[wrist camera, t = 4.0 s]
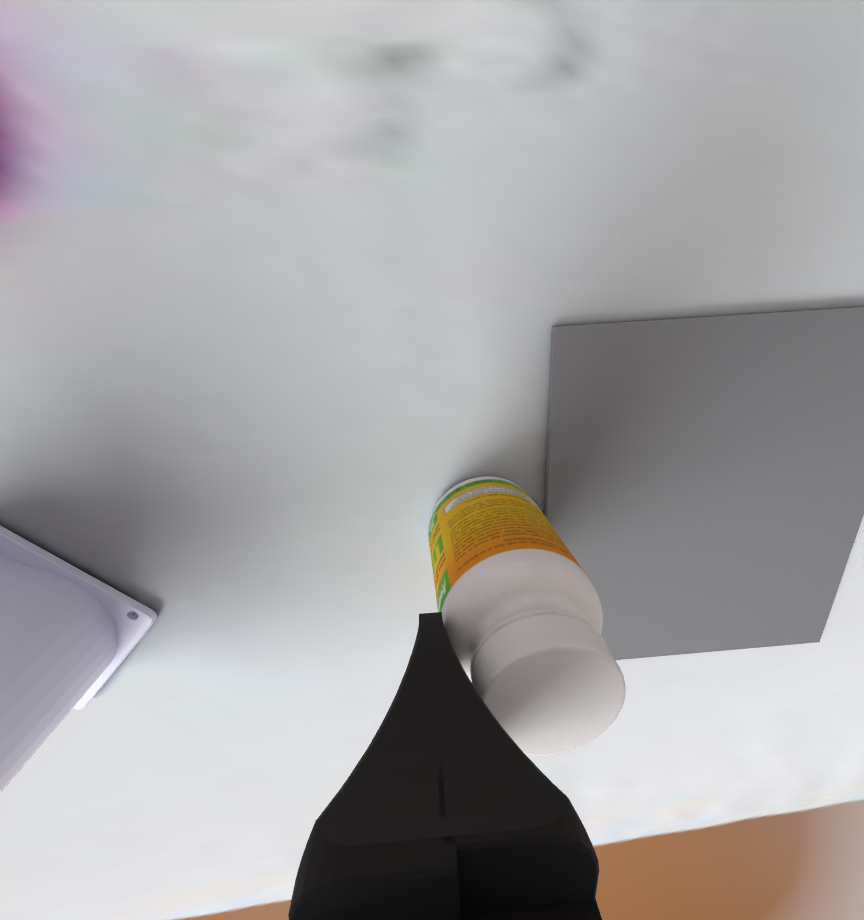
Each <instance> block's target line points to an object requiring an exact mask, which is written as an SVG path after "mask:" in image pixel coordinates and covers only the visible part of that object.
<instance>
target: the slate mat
mask: <svg viewBox="0 0 864 920" xmlns="http://www.w3.org/2000/svg"><path fill="white" fill-rule="evenodd" d="M863 514H864V306H863V307H847V308H832V309H816V310H800V311H785V312H769V313H754V314H738V315H722V316H707V317H691V318H676V319H660V320H645V321H629V322H613V323H598V324H582V325H567V326H552V339H551V363H550V387H549V411H548V436H547V460H546V484H545V508H544V515H545V517H546V518H547V520H548V521H549V523H550V524H551V525H552V527H553V528H554V530H555V531H556V533H557V534H558V535H559V537H560V538H561V540H562V541H563V542H564V544H565V545H566V547H567V548H568V549H569V551H570V552H571V554H572V555H573V556H574V558H575V559H576V560H577V562H578V563H579V565H580V566H581V567H582V569H583V570H584V572H585V573H586V575H587V576H588V578H589V579H590V581H591V583H592V584H593V586H594V588H595V590H596V592H597V594H598V596H599V599H600V602H601V607H602V613H603V625H602V632H601V636H602V638H603V639H604V641H605V643H606V645H607V647H608V649H609V651H610V652H611V654H612V656H613V657H614V659H615V660H621V659H633V658H644V657H655V656H667V655H678V654H689V653H701V652H712V651H723V650H735V649H746V648H757V647H769V646H780V645H791V644H803V643H814V642H820V639H821V636H822V633H823V630H824V627H825V624H826V621H827V619H828V616H829V613H830V610H831V607H832V604H833V601H834V598H835V595H836V592H837V590H838V587H839V584H840V581H841V578H842V575H843V572H844V569H845V566H846V564H847V561H848V558H849V555H850V552H851V549H852V546H853V543H854V540H855V538H856V535H857V532H858V529H859V526H860V523H861V520H862V517H863Z"/></svg>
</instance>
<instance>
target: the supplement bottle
mask: <svg viewBox="0 0 864 920" xmlns="http://www.w3.org/2000/svg"><path fill="white" fill-rule="evenodd" d="M428 536H429V546H430V552H431V560H432V567H433V574H434V582H435V590H436V598H437V606H438V612H442V618H443V623H444V627H445V630H446V632H447V635H448V637H449V640H450V642H451V645H452V647H453V649H454V651H455V653H456V655H457V657H458V659H459V661H460V663H461V665H462V667H463V669H464V670H465V672H466V674H467V676H468V677H469V679H470V681H471V683H472V684H473V686H474V688H475V689H476V691H477V692H478V694H479V695H480V697H481V698H482V700H483V701H484V703H485V704H486V706H487V707H488V709H489V710H490V711H491V713H492V714H493V716H494V717H495V718H496V720H497V721H498V722H499V724H500V725H501V726H502V727H503V729H504V730H505V731H506V732H507V734H508V735H509V736H510V737H511V738H512V739H513V741H514V742H515V743H516V744H517V745H518V747H519V748H520V749H521V750H522V751H523V753H524V754H527V755H551V754H557V753H563V752H566V751H570V750H572V749H575V748H578V747H580V746H582V745H584V744H586V743H588V742H590V741H591V740H593V739H595V738H596V737H597V736H599V735H600V734H601V733H603V732H604V731H605V730H606V729H607V728H608V727H609V726H610V725H611V724H612V723H613V721H614V720H615V719H616V717H617V716H618V714H619V712H620V710H621V708H622V705H623V702H624V699H625V682H624V677H623V674H622V672H621V670H620V668H619V666H618V664H617V662H616V661H615V659H614V657H613V656H612V654H611V652H610V651H609V649H608V647H607V645H606V643H605V641H604V639H603V638H602V636H601V632H602V625H603V613H602V607H601V602H600V599H599V596H598V594H597V592H596V590H595V588H594V586H593V584H592V583H591V581H590V579H589V578H588V576H587V575H586V573H585V572H584V570H583V569H582V567H581V566H580V565H579V563H578V562H577V560H576V559H575V558H574V556H573V555H572V554H571V552H570V551H569V549H568V548H567V547H566V545H565V544H564V542H563V541H562V540H561V538H560V537H559V535H558V534H557V533H556V531H555V530H554V528H553V527H552V525H551V524H550V523H549V521H548V520H547V518H546V517H545V515H544V514H543V513H542V511H541V510H540V508H539V507H538V506H537V504H536V503H535V501H534V500H533V499H532V498H531V496H530V495H529V494H528V493H527V492H526V491H525V490H524V489H523V488H521V487H520V486H519V485H517V484H515V483H514V482H512V481H509V480H507V479H504V478H500V477H493V476H484V477H476V478H472V479H468V480H466V481H463V482H461V483H459V484H457V485H455V486H454V487H452V488H451V489H450V490H448V491H447V492H446V493H445V494H444V495H443V496H442V497H441V498H440V499H439V501H438V502H437V503H436V505H435V507H434V509H433V511H432V513H431V516H430V520H429V527H428Z"/></svg>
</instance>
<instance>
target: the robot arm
mask: <svg viewBox="0 0 864 920" xmlns="http://www.w3.org/2000/svg"><path fill="white" fill-rule="evenodd" d="M134 612H136V613H137V614H135V613H134ZM156 620H157V614H156V613H155V612H154V611H153V610H152V609H150V608H148V607H147V606H145V605H143V604H141V603H139V602H137V601H136V600H134V599H132V598H130V597H128V596H127V595H125V594H123V593H121V592H119V591H118V590H116V589H114V588H112V587H110V586H109V585H107V584H105V583H103V582H101V581H100V580H98V579H96V578H94V577H92V576H90V575H89V574H87V573H85V572H83V571H81V570H80V569H78V568H76V567H74V566H72V565H71V564H69V563H67V562H65V561H63V560H62V559H60V558H58V557H56V556H54V555H53V554H51V553H49V552H47V551H45V550H44V549H42V548H40V547H38V546H36V545H34V544H33V543H31V542H29V541H27V540H25V539H24V538H22V537H20V536H18V535H16V534H15V533H13V532H11V531H9V530H7V529H6V528H4V527H2V526H0V793H1V792H2V791H3V789H4V788H5V787H6V786H7V785H8V784H9V782H10V781H11V780H12V779H13V778H14V776H15V775H16V774H17V773H18V772H19V771H20V769H21V768H22V767H23V766H24V765H25V764H26V762H27V761H28V760H29V759H30V758H31V756H32V755H33V754H34V753H35V752H36V751H37V749H38V748H39V747H40V746H41V745H42V744H43V742H44V741H45V740H46V739H47V738H48V736H49V735H50V734H51V733H52V732H53V731H54V729H55V728H56V727H57V726H58V725H59V724H60V722H61V721H62V720H63V719H64V718H65V716H66V715H67V714H68V713H69V712H70V711H71V709H76V710H79V709H83V708H85V707H86V706H87V704H88V703H89V702H90V701H91V700H92V698H93V697H94V696H95V695H96V693H97V692H98V691H99V690H100V689H101V687H102V686H103V685H104V684H105V682H106V681H107V680H108V679H109V678H110V676H111V675H112V674H113V673H114V671H115V670H116V669H117V668H118V667H119V665H120V664H121V663H122V662H123V660H124V659H125V658H126V657H127V656H128V654H129V653H130V652H131V651H132V649H133V648H134V647H135V646H136V645H137V643H138V642H139V641H140V640H141V638H142V637H143V636H144V635H145V634H146V632H147V631H148V630H149V629H150V627H151V626H152V625H153V624H154V623H155V621H156ZM598 874H599V865H598V859H597V856H596V853H595V850H594V848H593V846H592V843H591V841H590V839H589V836H588V834H587V832H586V830H585V828H584V826H583V824H582V822H581V820H580V818H579V816H578V814H577V813H576V811H575V809H574V807H573V806H572V804H571V802H570V800H569V799H568V797H567V796H566V795H565V794H564V793H563V792H562V791H560V790H559V789H558V788H557V787H556V786H555V785H554V784H553V783H552V782H551V781H550V780H549V779H548V778H547V777H546V776H545V775H544V774H543V773H542V772H541V771H540V770H539V769H538V768H537V767H536V766H535V764H534V763H533V762H532V761H531V760H530V759H529V758H528V757H527V756H526V755H525V754H524V753H523V751H522V750H521V749H520V748H519V747H518V745H517V744H516V743H515V742H514V741H513V739H512V738H511V737H510V736H509V735H508V734H507V732H506V731H505V730H504V729H503V727H502V726H501V725H500V724H499V722H498V721H497V720H496V718H495V717H494V716H493V714H492V713H491V711H490V710H489V709H488V707H487V706H486V704H485V703H484V701H483V700H482V698H481V697H480V695H479V694H478V692H477V691H476V689H475V688H474V686H473V684H472V683H471V681H470V679H469V677H468V676H467V674H466V672H465V670H464V669H463V667H462V665H461V663H460V661H459V659H458V657H457V655H456V653H455V651H454V649H453V647H452V645H451V642H450V640H449V637H448V635H447V632H446V630H445V627H444V623H443V618H442V612H437V613H425V614H419V628H418V633H417V637H416V641H415V645H414V648H413V651H412V654H411V657H410V660H409V663H408V666H407V669H406V672H405V674H404V677H403V679H402V681H401V684H400V686H399V689H398V691H397V694H396V696H395V698H394V700H393V702H392V704H391V706H390V709H389V710H388V712H387V714H386V716H385V718H384V720H383V722H382V724H381V726H380V728H379V729H378V731H377V733H376V735H375V737H374V738H373V740H372V742H371V744H370V745H369V747H368V749H367V750H366V752H365V753H364V755H363V756H362V758H361V759H360V761H359V762H358V764H357V765H356V767H355V768H354V770H353V771H352V773H351V774H350V776H349V778H348V779H347V781H346V782H345V783H344V785H343V786H342V788H341V789H340V790H339V792H338V793H337V794H336V795H335V797H334V798H333V799H332V801H331V802H330V803H329V805H328V806H327V807H326V808H325V810H324V811H323V812H322V814H321V815H320V816H319V818H318V819H317V820H316V822H315V824H314V827H313V829H312V832H311V834H310V837H309V839H308V842H307V845H306V848H305V850H304V853H303V856H302V859H301V863H300V866H299V869H298V873H297V877H296V881H295V886H294V891H293V895H292V900H291V906H290V910H289V920H602V918H601V915H600V912H599V909H598V906H597V902H596V899H595V895H596V888H597V881H598Z"/></svg>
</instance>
